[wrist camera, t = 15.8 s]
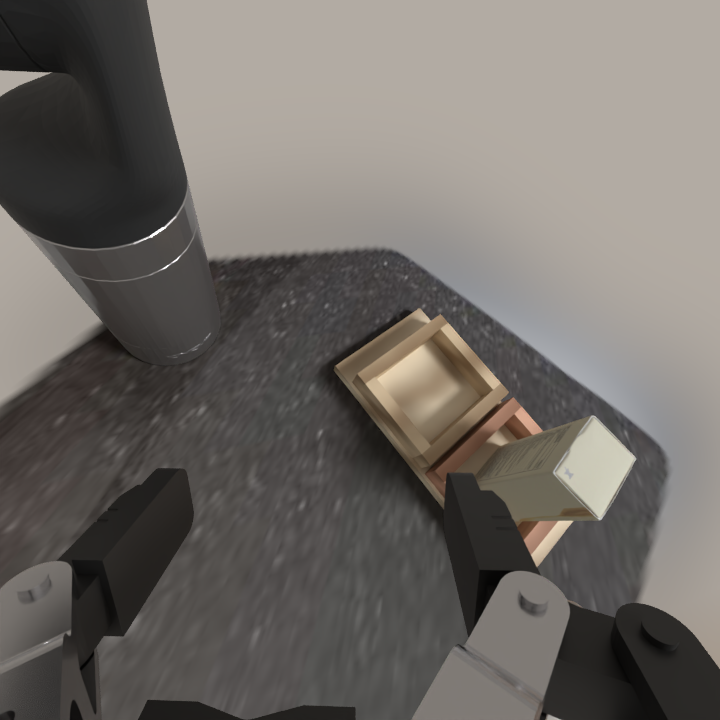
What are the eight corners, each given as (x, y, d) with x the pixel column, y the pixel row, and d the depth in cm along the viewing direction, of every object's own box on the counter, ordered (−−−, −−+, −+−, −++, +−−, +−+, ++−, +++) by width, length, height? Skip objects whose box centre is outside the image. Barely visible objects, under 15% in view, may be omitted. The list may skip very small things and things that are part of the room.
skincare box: (497, 523, 36) (599, 527, 24) (463, 487, 36) (549, 475, 25) (533, 474, 38) (641, 458, 27) (501, 441, 39) (594, 412, 28)
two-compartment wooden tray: (333, 369, 39) (339, 356, 36) (415, 313, 44) (428, 296, 40) (508, 591, 35) (534, 599, 31) (578, 502, 39) (607, 501, 36)
